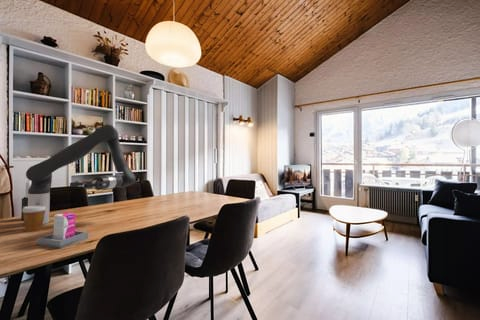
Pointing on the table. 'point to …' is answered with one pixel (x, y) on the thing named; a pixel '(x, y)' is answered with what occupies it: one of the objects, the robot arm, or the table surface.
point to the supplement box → (64, 226)
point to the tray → (51, 242)
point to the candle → (25, 198)
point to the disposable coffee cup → (33, 217)
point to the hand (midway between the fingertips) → (77, 185)
